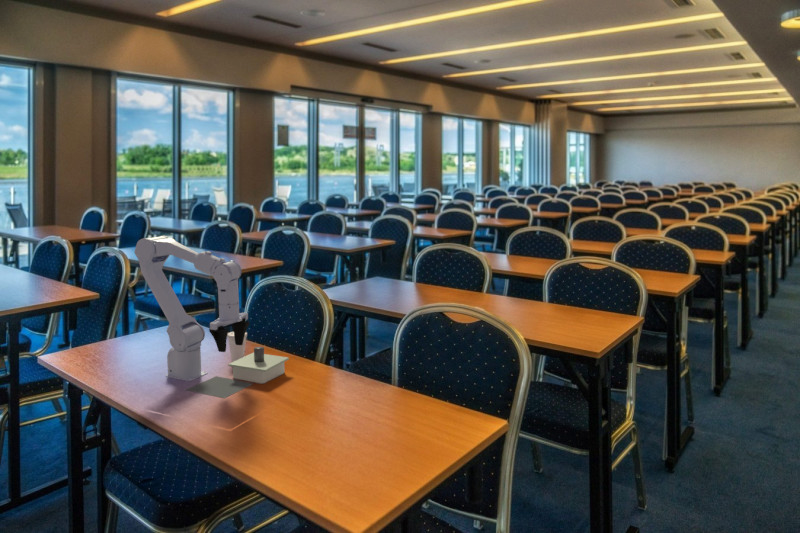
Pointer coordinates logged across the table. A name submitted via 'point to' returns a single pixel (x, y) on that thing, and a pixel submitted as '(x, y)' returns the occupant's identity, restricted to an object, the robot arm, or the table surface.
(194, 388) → the mat
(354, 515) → the table surface
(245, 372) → the dish
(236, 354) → the smoothie
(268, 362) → the lid
